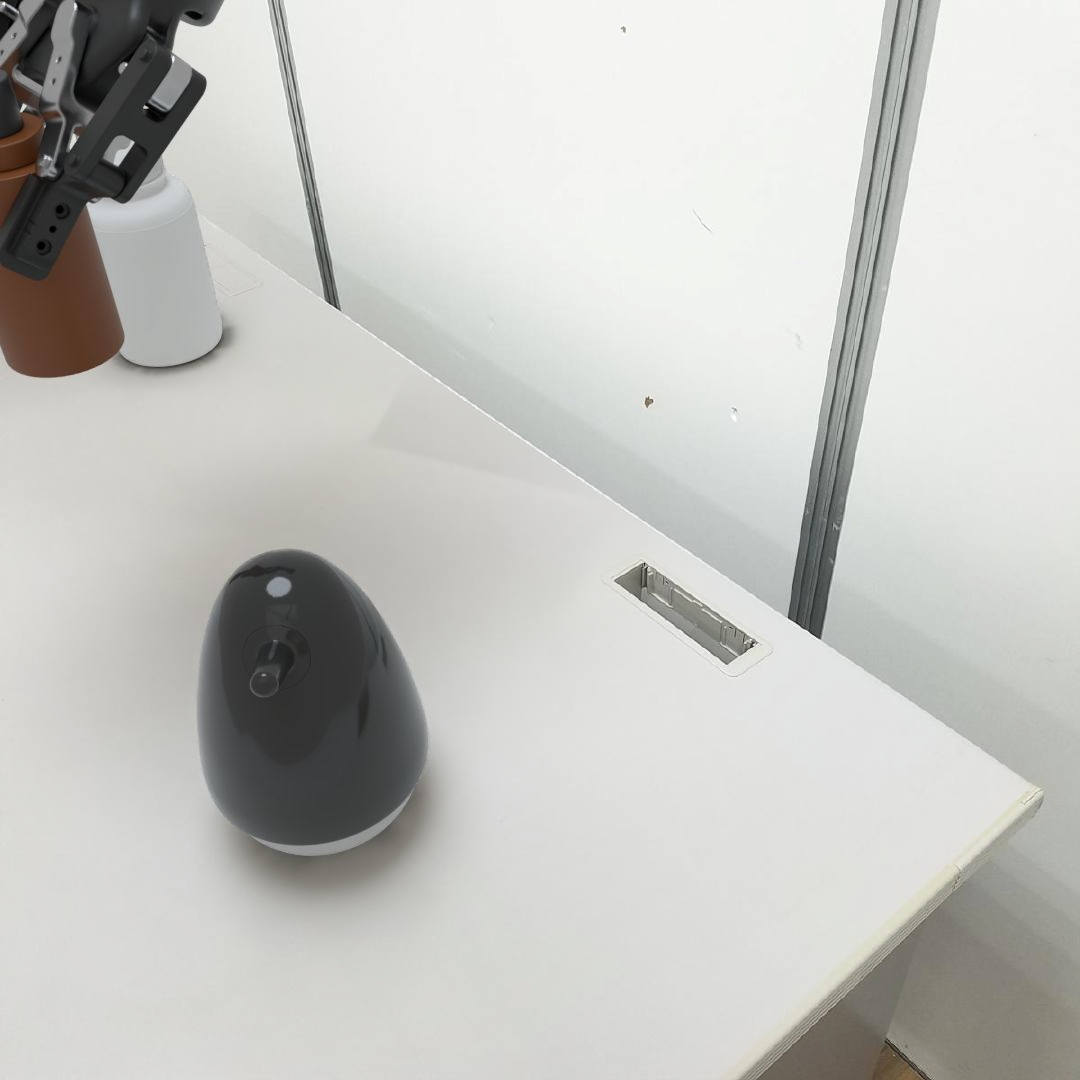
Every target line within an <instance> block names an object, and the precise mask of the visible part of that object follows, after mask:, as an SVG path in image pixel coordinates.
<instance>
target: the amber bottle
mask: <svg viewBox="0 0 1080 1080" xmlns="http://www.w3.org/2000/svg"><path fill="white" fill-rule="evenodd" d="M44 129H45V126H44V124H43V122H42V120H41V119H40V118H38V117H37V116H35V115H32V114H28V113H23V111H21V110H20V109H19V106H18V103H17V100H16V96H15V93H14V90H13V87H12V84H11V81H10V78H9V75H8V74H7V72H5V71H4V70H1V69H0V229H1V227H2V225H3V223H4V221H5V219H6V217H7V215H8V213H9V211H10V209H11V207H12V205H13V203H14V201H15V199H16V197H17V195H18V193H19V191H20V189H21V187H22V185H23V184H24V182H25V180H26V178H27V176H28V174H29V173H30V174H32V175H34V176H36V177H38V178H41V177H40V176H38V175H37V174H36V172H35V163H36V159H37V155H38V152H39V148H40V144H41V141H42V137H43V133H44ZM70 150H71V148H70V147H69V151H70ZM69 151H68V152H69ZM124 339H125V334H124V330H123V327H122V323H121V320H120V317H119V313H118V310H117V307H116V303H115V300H114V296H113V293H112V290H111V286H110V283H109V280H108V276H107V273H106V269H105V266H104V263H103V259H102V256H101V253H100V249H99V246H98V242H97V239H96V236H95V232H94V229H93V225H92V222H91V219H90V215H89V212H88V209H87V205H85V206H84V208H83V210H82V211H81V213H80V215H79V217H78V219H77V221H76V223H75V225H74V227H73V229H72V231H71V233H70V235H69V237H68V239H67V240H66V243H65V245H64V246H63V248H62V250H61V252H60V254H59V256H58V258H57V260H56V262H55V263H54V265H53V267H52V269H51V271H50V273H49V275H48V276H47V277H46V278H45V279H43V280H40V281H35V280H32V279H30V278H27V277H25V276H23V275H20V274H18V273H16V272H14V271H11V270H9V269H7V268H5V267H3V266H2V265H0V350H1V352H2V354H3V357H4V360H5V362H6V364H7V365H8V367H9V368H10V369H11V370H13V371H14V372H16V373H17V374H20V375H22V376H26V377H30V378H38V379H53V378H54V379H55V378H64V377H70V376H74V375H78V374H81V373H84V372H88V371H90V370H92V369H95V368H98V367H100V366H101V365H103V364H106V362H108V361H109V360H110V359H112V358H113V357H115V356H116V355H117V354H118V353H119V350H120V349H121V347H122V346H123V343H124Z"/></svg>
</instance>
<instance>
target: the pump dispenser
mask: <svg viewBox="0 0 1080 1080" xmlns="http://www.w3.org/2000/svg"><path fill="white" fill-rule="evenodd" d="M412 673H413V672H412V671H411V669H410V666H409V664H408V661H407V660H406V657H405V655H404V653H403V651H402V649H401V648H400V645H399V643H398V641H397V639H396V638H395V636H394V634H393V633H392V631H391V629H390V628H389V626H388V624H387V622H386V620H385V619H384V618H383V616H382V614H381V613H380V612H379V610H378V609H377V607H376V605H374V602H373V601H372V600H371V599H370V597H369V596H368V595H367V594H366V593H365V592H364V590H363V589H362V588H361V586H360V585H359V584H357V583H356V582H355V580H353V578H351V576H349V575H348V573H346V571H344V570H343V569H341V568H340V567H338V565H336V564H334V563H333V562H332V561H330V560H328V559H326V558H325V557H323V556H321V555H319V554H316V553H314V552H312V551H309V550H304V549H298V548H277V549H271V550H268V551H265V552H261V553H258V554H257V555H255V556H253V557H251V558H249V559H247V560H246V561H244V562H243V563H242V564H241V565H239V566H238V567H237V568H236V569H235V570H234V571H233V572H232V574H231V575H230V576H229V577H228V578H227V580H226V581H225V582H224V584H223V585H222V588H221V589H220V591H219V593H218V594H217V596H216V598H215V600H214V603H213V604H212V607H211V609H210V612H209V616H208V619H207V622H206V625H205V629H204V633H203V637H202V642H201V649H200V656H199V664H198V675H197V687H196V731H197V732H196V733H197V743H198V751H199V760H200V765H201V770H202V774H203V779H204V782H205V785H206V789H207V791H208V793H209V796H210V798H211V800H212V802H213V804H214V805H215V807H216V809H217V810H218V811H219V812H220V814H222V816H223V817H224V818H225V819H226V820H227V821H228V822H229V823H230V824H231V825H233V827H236V828H237V829H238V830H240V831H242V832H243V833H245V834H247V835H248V836H250V837H251V838H252V839H254V840H256V841H257V842H258V843H261V844H262V845H264V846H267V847H268V848H271V849H273V850H277V851H278V852H282V853H285V854H290V855H296V856H305V857H319V856H328V855H334V854H339V853H342V852H345V851H348V850H351V849H354V848H356V847H358V846H360V845H362V844H364V843H366V842H368V841H370V840H372V839H373V838H374V837H376V836H377V835H379V834H380V833H381V832H383V831H384V830H385V829H386V828H388V826H389V825H390V824H392V822H394V820H395V819H397V817H398V816H399V815H400V814H401V812H402V810H404V808H405V806H406V805H407V803H408V802H409V800H410V798H411V797H412V794H413V792H414V790H415V788H416V786H417V785H418V783H419V781H420V779H421V777H422V776H423V773H424V770H425V768H426V765H427V760H428V757H429V747H430V736H429V735H430V734H429V725H428V720H427V714H426V711H425V710H426V709H425V707H424V704H423V701H422V697H421V695H420V692H419V689H418V685H417V683H416V680H415V678H414V676H413V674H412Z"/></svg>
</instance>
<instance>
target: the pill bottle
mask: <svg viewBox="0 0 1080 1080" xmlns="http://www.w3.org/2000/svg"><path fill="white" fill-rule="evenodd" d="M133 144H134V142H133V141H132V140H131V143H130V145H129V147H128V148H126V149H122V150H118V151H117V152H116V156H115V159H114V163H113V164H114V165H116V166H119V165H120V163H121V162H122V160H123V159H124V157H125V156H126V154H127V153H128V152H129V150H130V149H131V147H132V146H133ZM86 205H87V209H88V212H89V215H90V219H91V222H92V225H93V229H94V232H95V236H96V239H97V242H98V246H99V249H100V253H101V256H102V259H103V263H104V266H105V269H106V273H107V276H108V280H109V283H110V286H111V290H112V293H113V296H114V300H115V303H116V307H117V310H118V313H119V317H120V320H121V323H122V327H123V330H124V334H125V339H124V343H123V346H122V347H121V349H120V350H119V351H118V353H120V354H121V356H122V357H123V358H125V359H126V360H127V361H128V362H131V363H133V364H136V365H139V366H143V367H144V366H145V367H155V368H157V367H158V368H161V367H171V366H178V365H181V364H185V363H189V362H192V361H194V360H196V359H199V358H202V357H203V356H205V355H206V354H208V353H209V352H210V351H212V350H213V349H214V348H215V347H216V346H217V345H218V344H219V342H220V340H221V339H222V335H223V319H222V316H221V315H222V314H221V311H220V306H219V302H218V297H217V294H216V290H215V286H214V285H215V284H214V281H213V276H212V272H211V269H210V264H209V260H208V256H207V251H206V246H205V241H204V238H203V233H202V229H201V225H200V221H199V217H198V211H197V209H196V208H197V207H196V204H195V200H194V196H193V194H192V192H191V190H190V188H189V187H188V186H187V184H186V183H184V181H183V180H182V179H180V178H179V177H177V176H176V175H173V174H171V173H169V172H168V170H167V167H166V165H165V163H164V158H163V154H162V155H161V157H160V158H159V160H158V161H157V162H156V164H155V165H154V167H153V168H152V170H151V171H150V173H149V174H148V176H147V177H146V178H145V180H144V181H143V183H142V184H141V186H140V187H139V189H138V190H137V191H136V193H135V194H134V196H133V197H132V198H131V200H130V201H128V202H127V203H125V204H120V203H119V202H117V201H115V200H113V199H111V198H102V199H101V200H100V201H99V202H97V203H94V204H92V203H90V202H88V203H87V204H86Z"/></svg>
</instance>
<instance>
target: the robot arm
mask: <svg viewBox="0 0 1080 1080" xmlns="http://www.w3.org/2000/svg"><path fill="white" fill-rule="evenodd" d="M224 2H225V0H0V69H1V70H4V71H5V72H7V74H8V75H9V78H10V81H11V84H12V87H13V90H14V93H15V96H16V100H17V103H18V106H19V109H20V111H21V110H22V108H23V105H24V106H25V107H24V109H23V110H22V112H23V113H28V114H32V115H35V116H37V117H38V118H40V119H41V120H42V122H43V124H44V127H45V129H44V133H43V137H42V141H41V144H40V148H39V152H38V155H37V159H36V163H35V172H36V174H37V175H38V176H40V177H41V178H38V177H36V176H34V175H32V174H30V173H29V174H28V176H27V178H26V180H25V182H24V184H23V185H22V187H21V189H20V191H19V193H18V195H17V197H16V199H15V201H14V203H13V205H12V207H11V209H10V211H9V213H8V215H7V217H6V219H5V221H4V223H3V225H2V227H1V229H0V265H2V266H3V267H5V268H7V269H9V270H11V271H14V272H16V273H18V274H20V275H23V276H25V277H27V278H30V279H32V280H35V281H40V280H43V279H45V278H46V277H47V276H48V275H49V273H50V271H51V269H52V267H53V265H54V263H55V262H56V260H57V258H58V256H59V254H60V252H61V250H62V248H63V246H64V245H65V243H66V240H67V239H68V237H69V235H70V233H71V231H72V229H73V227H74V225H75V223H76V221H77V219H78V217H79V215H80V213H81V211H82V210H83V208H84V206H85V205H86V204H87V203H88V202H90V203H92V204H94V203H97V202H99V201H100V200H101V199H102V198H111V199H113V200H115V201H117V202H119V203H120V204H125V203H127V202H128V201H130V200H131V198H132V197H133V196H134V194H135V193H136V191H137V190H138V189H139V187H140V186H141V184H142V183H143V181H144V180H145V178H146V177H147V176H148V174H149V173H150V171H151V170H152V168H153V167H154V165H155V164H156V162H157V161H158V160H159V158H160V157H161V155H162V156H163V154H164V152H165V151H166V150H167V149H168V146H169V145H170V144H171V142H172V141H173V139H174V138H175V136H176V135H177V134H178V132H179V131H180V129H181V128H182V126H183V125H184V123H186V121H187V119H188V118H189V116H190V115H191V114H192V112H193V110H194V109H195V108H196V106H197V105H198V103H199V102H200V100H201V99H202V97H203V96H204V94H205V92H206V89H207V87H208V86H207V84H208V82H207V81H208V80H207V78H206V76H205V75H203V74H202V73H201V72H199V71H198V70H196V69H195V68H193V67H192V66H191V65H190V64H189V63H188V62H187V61H185V60H184V59H182V58H181V57H180V56H178V55H177V54H175V53H174V52H173V50H174V46H175V39H176V34H177V30H178V27H179V25H180V22H183V23H185V24H188V25H191V26H194V27H200V28H201V27H203V28H204V27H207V26H209V25H211V24H212V23H213V22H214V21H215V19H216V18H217V16H218V14H219V12H220V10H221V8H222V6H223V4H224ZM145 107H146V108H145ZM73 135H75V136H77V137H78V138H77V139H76V140H75V142H74V144H73V145H72V146H71V143H72V139H73ZM131 140H132V141H133V142H134V144H133V146H132V147H131V149H130V150H129V152H128V153H127V154H126V156H125V157H124V159H123V160H122V162H121V163H120V165H119V166H116V165H114V164H113V163H114V159H115V156H116V152H117V151H118V150H122V149H126V148H128V147H129V145H130V143H131ZM70 147H71V148H70ZM69 148H70V151H69ZM68 151H69V152H68Z"/></svg>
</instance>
